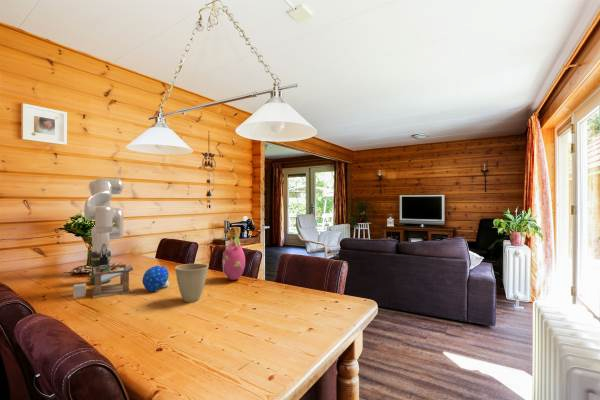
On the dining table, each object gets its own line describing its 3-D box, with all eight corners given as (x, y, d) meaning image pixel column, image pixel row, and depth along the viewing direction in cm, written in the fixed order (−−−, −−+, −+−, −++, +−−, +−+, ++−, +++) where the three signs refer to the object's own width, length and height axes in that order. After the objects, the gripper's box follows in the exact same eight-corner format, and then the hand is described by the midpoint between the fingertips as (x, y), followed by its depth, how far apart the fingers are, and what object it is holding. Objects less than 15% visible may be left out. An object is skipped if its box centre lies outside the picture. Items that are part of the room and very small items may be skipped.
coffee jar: (94, 285, 169) (95, 252, 169) (88, 283, 173) (88, 251, 173) (113, 282, 177) (113, 250, 177) (106, 280, 182) (106, 248, 182)
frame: (92, 288, 164) (92, 266, 164) (126, 284, 173) (126, 263, 173) (93, 298, 148) (93, 274, 148) (130, 292, 157) (130, 270, 157)
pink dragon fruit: (219, 277, 190) (219, 229, 190) (240, 275, 195) (241, 228, 195) (225, 284, 173) (225, 231, 174) (248, 282, 179) (248, 230, 179)
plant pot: (197, 306, 138) (197, 270, 138) (168, 303, 141) (168, 269, 141) (213, 296, 153) (213, 264, 153) (186, 294, 156) (186, 262, 156)
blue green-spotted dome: (181, 271, 170) (162, 259, 160) (173, 296, 162) (152, 284, 151) (162, 274, 175) (142, 262, 165) (153, 298, 166) (131, 287, 156)
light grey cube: (85, 283, 156) (85, 293, 156) (73, 284, 154) (73, 294, 154) (85, 285, 152) (85, 295, 152) (73, 287, 149) (73, 297, 149)
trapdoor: (99, 278, 163) (98, 276, 162) (131, 266, 171) (130, 264, 171) (99, 284, 152) (98, 281, 152) (133, 270, 161) (132, 268, 161)
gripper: (94, 229, 163) (94, 261, 163) (95, 232, 149) (95, 267, 149) (111, 228, 168) (111, 259, 168) (113, 231, 154) (113, 265, 153)
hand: (103, 263), depth 158 cm, fingers open, 9 cm apart
